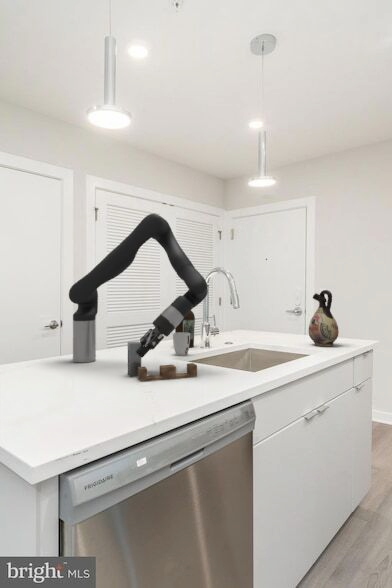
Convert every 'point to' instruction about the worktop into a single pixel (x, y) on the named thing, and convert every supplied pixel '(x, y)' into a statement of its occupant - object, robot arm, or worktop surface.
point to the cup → (181, 343)
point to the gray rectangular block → (133, 358)
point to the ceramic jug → (323, 322)
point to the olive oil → (187, 327)
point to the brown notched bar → (167, 373)
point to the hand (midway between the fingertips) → (137, 353)
